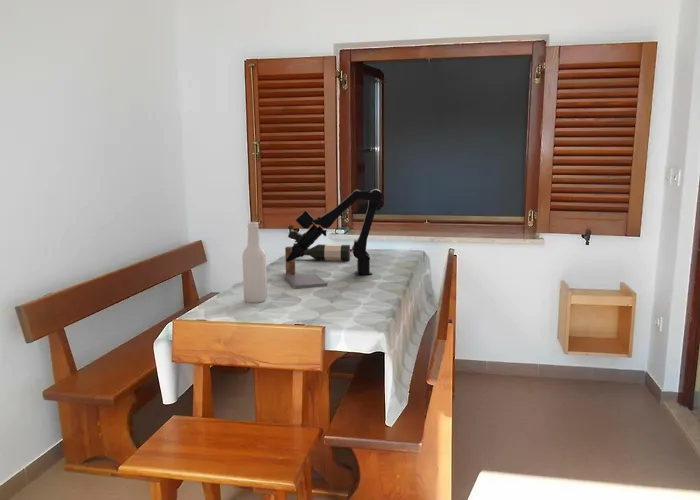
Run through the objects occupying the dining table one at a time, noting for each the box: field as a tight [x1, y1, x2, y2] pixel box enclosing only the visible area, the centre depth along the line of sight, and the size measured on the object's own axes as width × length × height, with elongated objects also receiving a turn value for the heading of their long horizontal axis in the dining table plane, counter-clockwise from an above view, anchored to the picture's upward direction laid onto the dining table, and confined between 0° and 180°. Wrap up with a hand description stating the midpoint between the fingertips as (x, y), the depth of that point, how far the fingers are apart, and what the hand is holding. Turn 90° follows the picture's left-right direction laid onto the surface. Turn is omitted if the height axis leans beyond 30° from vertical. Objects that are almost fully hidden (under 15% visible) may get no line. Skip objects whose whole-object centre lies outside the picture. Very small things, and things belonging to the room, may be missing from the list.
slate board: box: [284, 272, 328, 289], centre depth 247 cm, size 20×14×1 cm
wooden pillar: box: [284, 246, 296, 275], centre depth 261 cm, size 4×4×12 cm
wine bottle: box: [304, 243, 351, 262], centre depth 295 cm, size 8×8×30 cm
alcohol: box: [241, 221, 268, 304], centre depth 216 cm, size 9×9×30 cm
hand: (287, 260), depth 261 cm, fingers closed on wooden pillar, 4 cm apart
